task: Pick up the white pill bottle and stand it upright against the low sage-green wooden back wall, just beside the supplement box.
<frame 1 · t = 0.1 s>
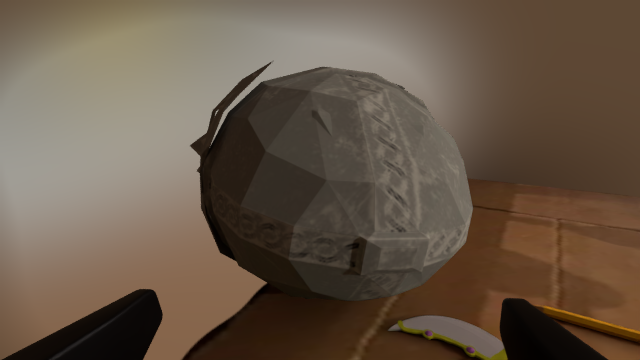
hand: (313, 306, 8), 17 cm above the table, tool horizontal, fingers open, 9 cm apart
decorative knife: (482, 327, 27), on the table
pencil: (622, 332, 25), point 1 cm above the table
helmet: (295, 143, 47), point 11 cm above the table
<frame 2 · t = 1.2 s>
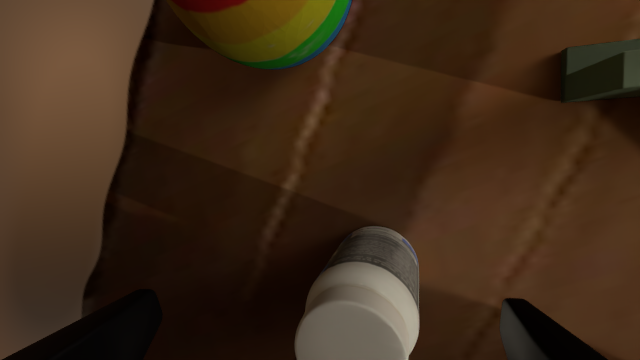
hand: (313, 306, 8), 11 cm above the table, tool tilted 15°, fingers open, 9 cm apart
decorative egg: (295, 6, 19), on the table
pill bottle: (377, 263, 19), on the table
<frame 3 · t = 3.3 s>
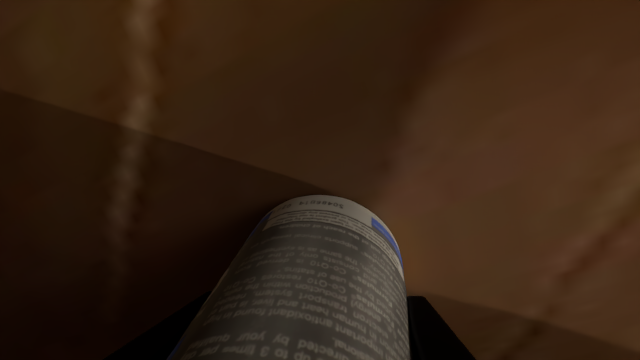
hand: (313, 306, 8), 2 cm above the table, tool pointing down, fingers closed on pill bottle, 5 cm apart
pill bottle: (325, 257, 10), on the table, touching gripper
when the fingers open (2 cm above the table, at t = 8.8 s): pill bottle stays where it is, on the table.
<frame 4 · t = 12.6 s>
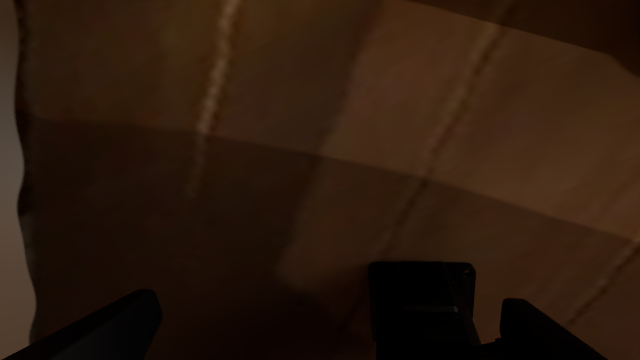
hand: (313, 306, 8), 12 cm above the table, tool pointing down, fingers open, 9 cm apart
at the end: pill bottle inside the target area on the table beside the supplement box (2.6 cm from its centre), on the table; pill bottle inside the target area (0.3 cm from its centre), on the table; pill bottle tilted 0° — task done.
